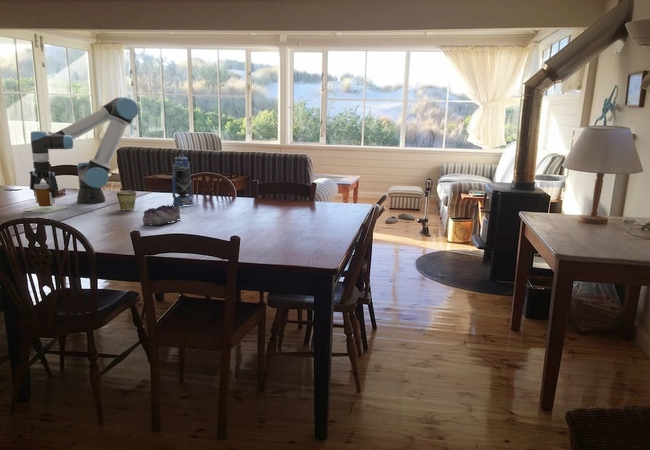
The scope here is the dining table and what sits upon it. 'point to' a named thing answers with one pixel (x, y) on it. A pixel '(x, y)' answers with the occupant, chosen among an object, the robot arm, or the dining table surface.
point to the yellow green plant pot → (126, 199)
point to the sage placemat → (46, 209)
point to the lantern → (182, 181)
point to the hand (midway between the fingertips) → (45, 203)
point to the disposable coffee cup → (43, 194)
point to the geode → (161, 215)
